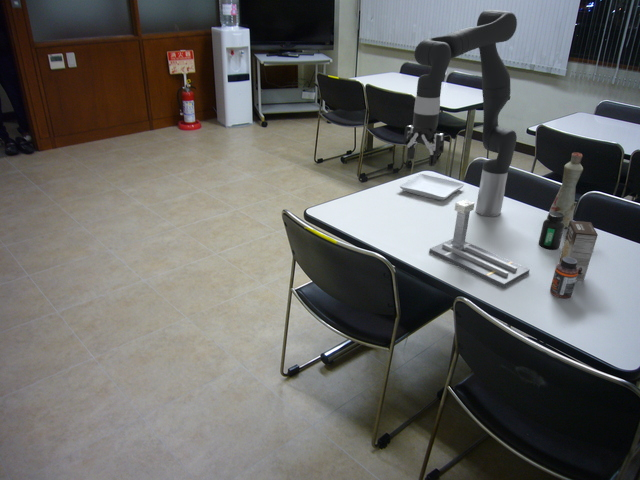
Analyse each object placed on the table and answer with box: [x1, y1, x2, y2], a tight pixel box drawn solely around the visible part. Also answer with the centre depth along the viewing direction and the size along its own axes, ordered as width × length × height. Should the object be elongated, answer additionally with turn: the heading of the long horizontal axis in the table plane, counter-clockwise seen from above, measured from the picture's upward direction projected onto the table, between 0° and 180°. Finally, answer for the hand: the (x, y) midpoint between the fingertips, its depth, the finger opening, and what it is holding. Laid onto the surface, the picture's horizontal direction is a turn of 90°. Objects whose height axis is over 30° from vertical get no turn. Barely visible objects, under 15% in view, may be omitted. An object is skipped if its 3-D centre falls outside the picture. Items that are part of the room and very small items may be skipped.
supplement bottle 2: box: [549, 257, 578, 299], centre depth 151 cm, size 6×6×11 cm
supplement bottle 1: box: [538, 211, 565, 251], centre depth 178 cm, size 7×7×12 cm
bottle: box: [546, 152, 584, 229], centre depth 191 cm, size 9×9×28 cm
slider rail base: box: [428, 238, 530, 289], centre depth 168 cm, size 14×28×3 cm, turn 40°
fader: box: [451, 199, 476, 251], centre depth 170 cm, size 5×4×16 cm
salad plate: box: [399, 173, 465, 201], centre depth 224 cm, size 21×21×3 cm
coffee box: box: [558, 220, 598, 282], centre depth 161 cm, size 9×6×16 cm
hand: (421, 162), depth 166 cm, fingers open, 8 cm apart
